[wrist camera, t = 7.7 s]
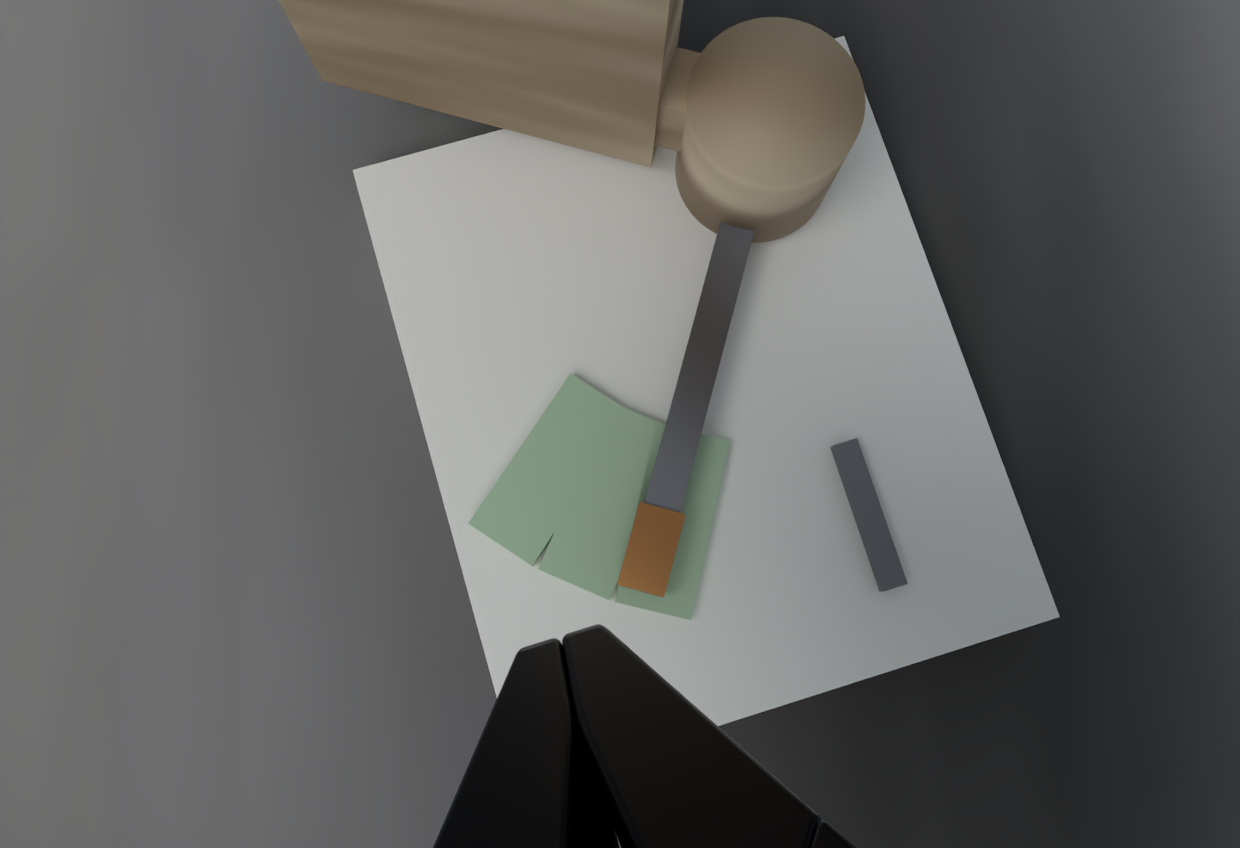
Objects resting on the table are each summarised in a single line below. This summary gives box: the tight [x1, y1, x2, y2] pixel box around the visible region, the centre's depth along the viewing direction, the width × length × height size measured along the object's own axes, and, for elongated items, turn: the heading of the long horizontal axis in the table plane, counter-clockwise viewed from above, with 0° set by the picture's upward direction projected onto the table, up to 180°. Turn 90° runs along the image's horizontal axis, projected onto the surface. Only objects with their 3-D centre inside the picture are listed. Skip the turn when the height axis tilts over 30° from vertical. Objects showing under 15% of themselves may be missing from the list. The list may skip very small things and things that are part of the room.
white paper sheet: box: [353, 36, 1060, 726], centre depth 20 cm, size 13×11×2 cm
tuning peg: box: [279, 0, 865, 597], centre depth 16 cm, size 11×11×8 cm
